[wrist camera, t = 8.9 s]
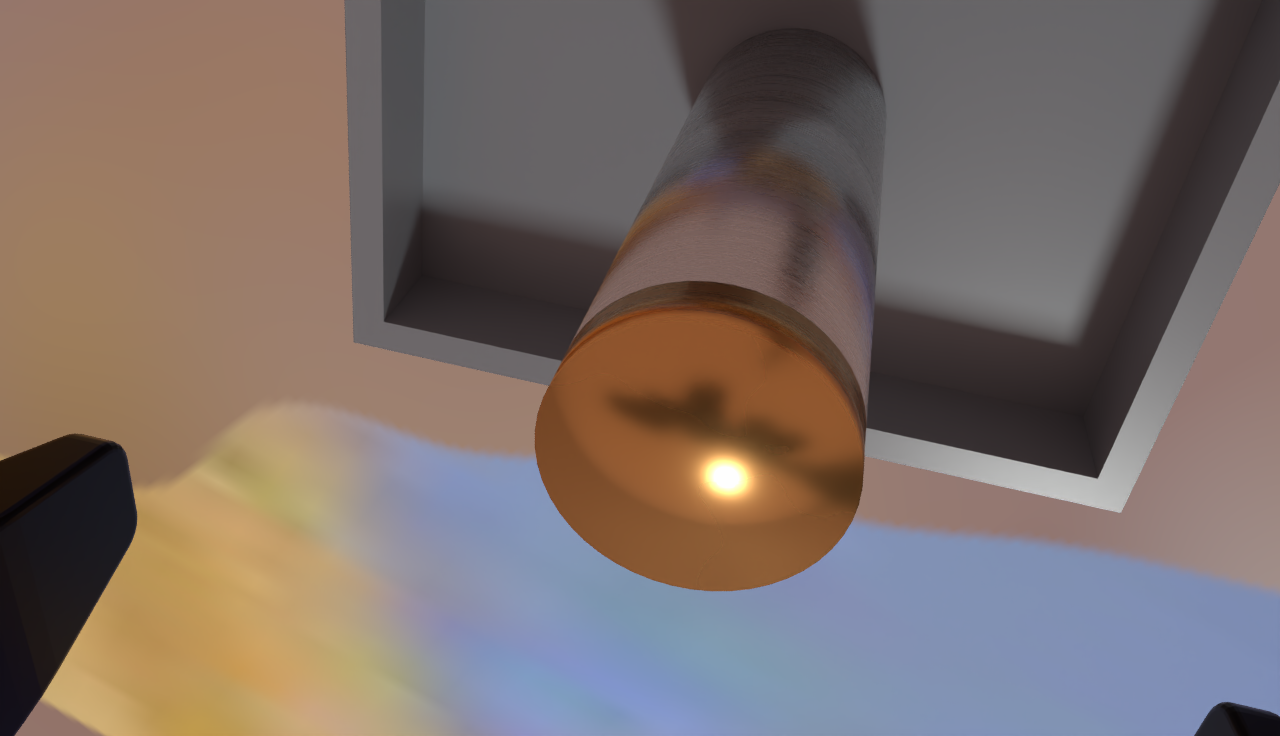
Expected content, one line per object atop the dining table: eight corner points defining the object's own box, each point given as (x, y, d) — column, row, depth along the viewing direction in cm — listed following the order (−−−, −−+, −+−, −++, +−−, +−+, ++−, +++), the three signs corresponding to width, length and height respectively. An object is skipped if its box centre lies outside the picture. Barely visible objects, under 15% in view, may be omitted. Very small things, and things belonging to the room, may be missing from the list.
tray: (1352, -137, 16) (1419, -108, 14) (1100, 431, 21) (1120, 512, 19) (406, -287, 17) (337, -282, 15) (404, 281, 23) (353, 341, 21)
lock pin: (907, 47, 18) (901, 364, 10) (861, 226, 19) (822, 622, 11) (713, 11, 18) (546, 289, 10) (685, 190, 20) (524, 549, 12)
